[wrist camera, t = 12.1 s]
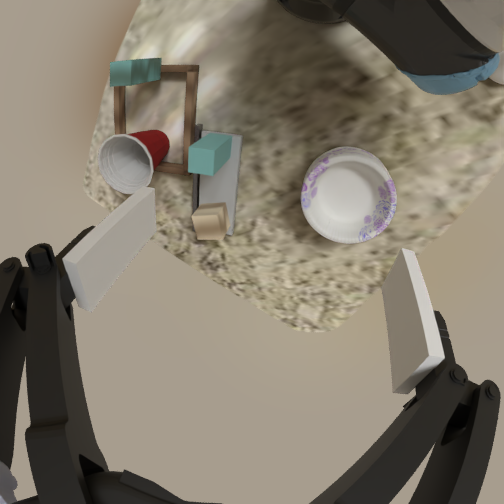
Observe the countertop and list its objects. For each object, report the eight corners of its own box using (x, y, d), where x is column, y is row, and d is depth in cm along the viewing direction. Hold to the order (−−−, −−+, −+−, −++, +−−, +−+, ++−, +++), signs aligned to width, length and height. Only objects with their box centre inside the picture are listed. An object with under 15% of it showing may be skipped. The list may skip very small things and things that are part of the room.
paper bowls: (302, 140, 46) (298, 153, 40) (391, 145, 43) (403, 159, 37) (303, 219, 55) (300, 242, 49) (383, 223, 52) (390, 247, 45)
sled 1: (120, 60, 43) (81, 66, 34) (199, 57, 41) (168, 57, 32) (122, 162, 56) (90, 184, 47) (193, 171, 54) (166, 196, 45)
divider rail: (198, 123, 48) (195, 125, 47) (202, 124, 48) (199, 126, 47) (195, 227, 62) (192, 231, 60) (199, 228, 62) (196, 231, 60)
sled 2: (204, 130, 49) (179, 145, 40) (242, 135, 48) (224, 152, 40) (200, 225, 61) (181, 254, 53) (233, 232, 60) (217, 262, 52)
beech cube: (201, 203, 56) (191, 216, 52) (225, 202, 55) (217, 215, 51) (206, 226, 59) (197, 239, 55) (230, 225, 58) (222, 239, 54)
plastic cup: (167, 180, 56) (136, 207, 47) (127, 151, 54) (90, 173, 45) (193, 137, 50) (161, 158, 41) (148, 107, 48) (109, 122, 38)
